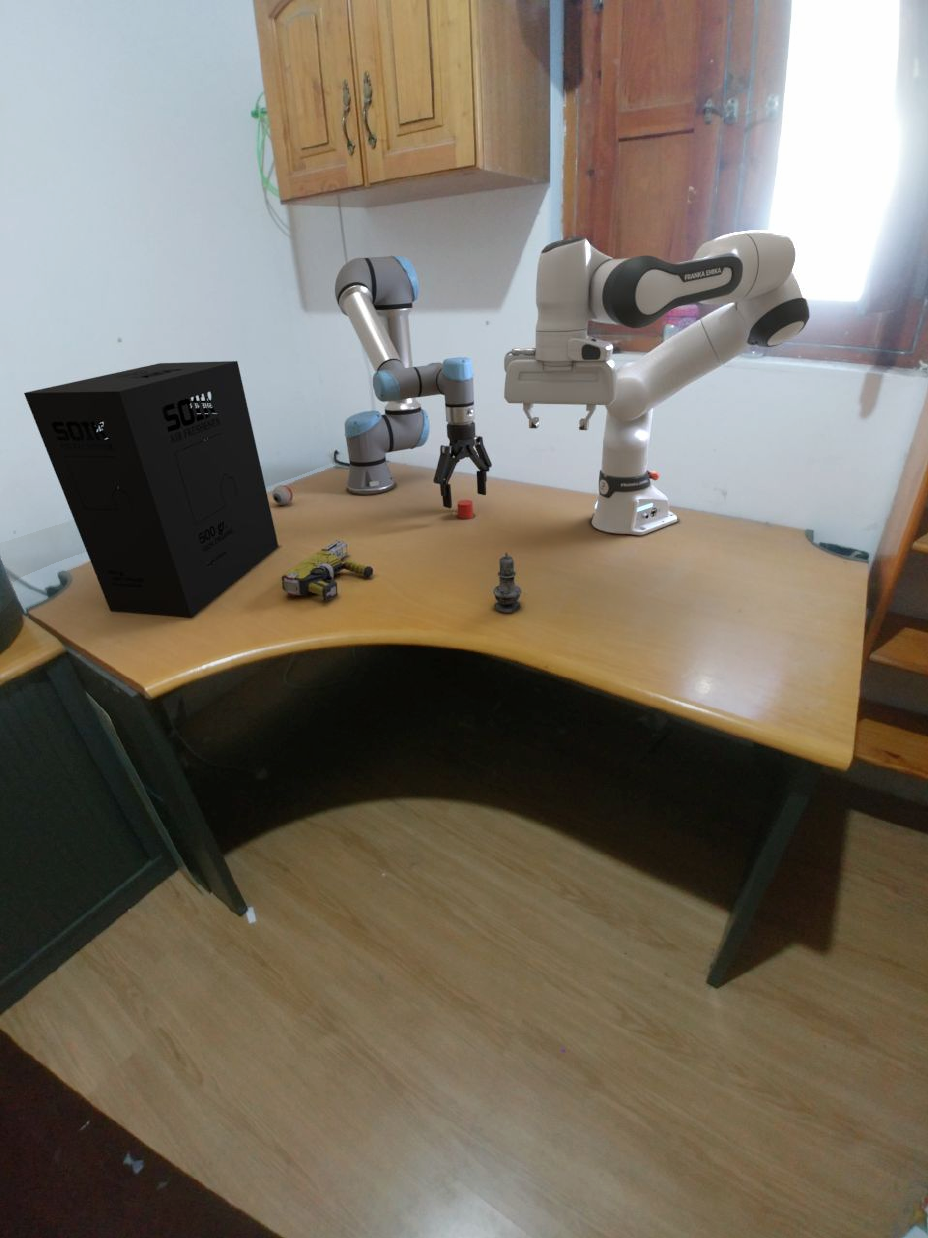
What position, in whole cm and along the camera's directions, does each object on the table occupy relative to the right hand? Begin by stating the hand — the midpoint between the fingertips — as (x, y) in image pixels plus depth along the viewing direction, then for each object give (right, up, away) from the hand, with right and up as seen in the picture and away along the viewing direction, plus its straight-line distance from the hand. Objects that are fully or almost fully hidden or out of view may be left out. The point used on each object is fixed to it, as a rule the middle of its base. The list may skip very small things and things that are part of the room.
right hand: (558, 428), depth 112 cm
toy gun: (-47, -26, +27) cm, 60 cm away
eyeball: (-73, 0, +75) cm, 105 cm away
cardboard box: (-80, -25, +32) cm, 90 cm away
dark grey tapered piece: (-9, -33, +12) cm, 36 cm away
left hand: (-17, -2, +56) cm, 59 cm away
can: (-17, -6, +58) cm, 61 cm away
